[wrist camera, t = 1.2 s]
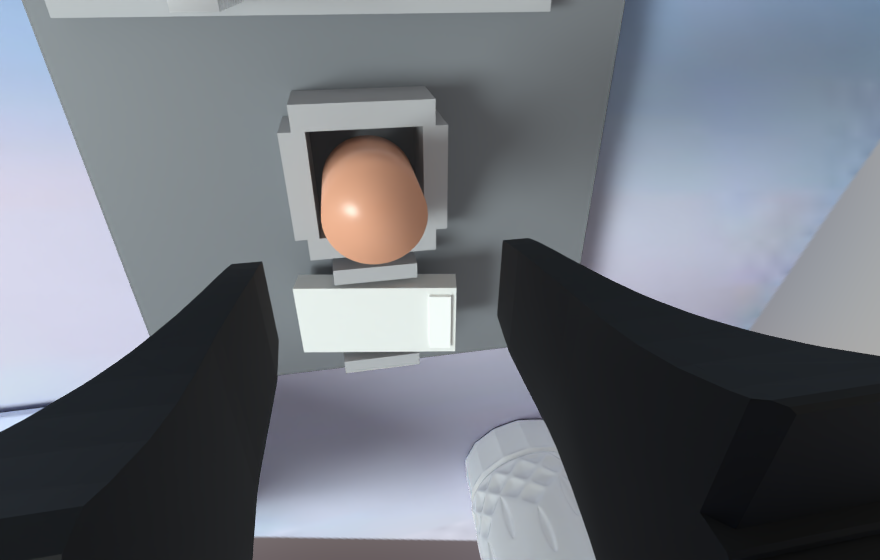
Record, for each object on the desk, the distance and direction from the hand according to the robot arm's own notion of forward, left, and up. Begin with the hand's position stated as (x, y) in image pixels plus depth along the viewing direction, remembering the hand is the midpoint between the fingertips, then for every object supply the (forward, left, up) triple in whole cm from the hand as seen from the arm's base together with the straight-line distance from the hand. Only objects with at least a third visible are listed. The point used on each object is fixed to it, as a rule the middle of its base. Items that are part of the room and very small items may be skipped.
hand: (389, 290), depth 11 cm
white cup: (-20, -8, -11) cm, 24 cm away
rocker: (-5, 0, -7) cm, 9 cm away
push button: (0, 0, -7) cm, 7 cm away
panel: (0, 0, -10) cm, 10 cm away
